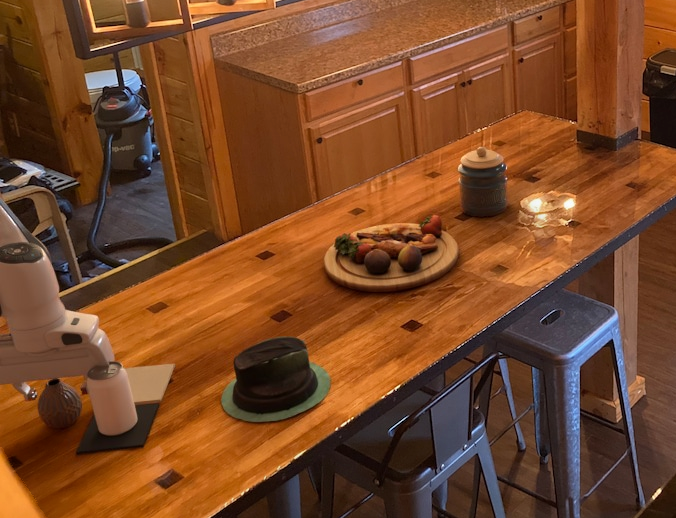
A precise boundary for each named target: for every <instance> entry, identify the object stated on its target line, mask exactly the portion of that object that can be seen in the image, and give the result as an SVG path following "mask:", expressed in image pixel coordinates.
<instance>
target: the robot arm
mask: <svg viewBox="0 0 676 518" xmlns="http://www.w3.org/2000/svg"><path fill="white" fill-rule="evenodd" d="M0 318H4V319H5V320H6V322H7V327H8V330H9V333H4V334H0V386H3V385H11V384H12V386H13V388H14V389H15V390H16V391H18V392H19V393H20V394H21V395H23V397H24V401H25V402H32V401H36V399H37V398H38V391H37V388H36V387H31V386H29V385H28V382H38V381H46V380H48V381H49V380H52V379H57V378H58V379H65V378H74V377H83V379H84V380H87V378H88V376H87V373H88V371H89V370H90V369H91V368H92V367H94V366H95V365H98V367H99V366H108V365H109V364H110V363H109V361H115V353H114V350H113V346H112V344H111V341H110V339H109V337H108V335H107V333H106V332H105V331H104V330H102V328H100V327H99V326H100V318H99V316H98V315H96V314H91V313H84V312H79V311H72V310H69V309H66V307H65V305H64V303H63V302H62V300H61V298H60V285H59V281H58V279H57V275H56V272H55V269H54V267H53V265H52V257H51V253H50V251H49V250H48V249H47V247H46V245H45V244H44V243H43V242H41V240H39V239H38V237H36V236H35V235H34V234H32V232H30V231H29V230H28V229H27V228H26V227H25V225H24V224H23V223H22V222H21V221H20V219H19V218H18V217H17V216H16V214H15V213H14V212H13V211H12V209H11V208H10V206H8V204H7V203H6V202H5V201H4V199H2V197H1V196H0ZM79 389H80V391H81V395H89V391H88V387H87V381H82V383H81V386H80V387H79Z"/></svg>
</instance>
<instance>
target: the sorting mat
mask: <svg viewBox="0 0 676 518" xmlns="http://www.w3.org/2000/svg"><path fill="white" fill-rule="evenodd" d="M175 367H176V364H175V363H167V364H166V363H165V364H155V365H145V366H135V367H123V368H124V369H125V370H126V372H127V375H128V379H129V383H130V388H131V392H132V396H133V400H134V405H135V409H136V413H137V423H136V424H135V426H134V427H133V428H132V429H131V430H129V431H127V432H125V433H123V434H120V435H115V436H107V435H104V434H102V433H101V432H100V431H99V429H98V426H97V422H96V418H95V415H94V414H93V416H92V418H91V420H90V422H89V424H88V427H87V428H86V430H85V432H84V434H83V436H82V437H81V438H82V439H81V440H80V442H79V445H78V447H77V449H76V451H75V453H76V455H84V454H95V453H103V452H112V451H123V450H130V449H132V450H133V449H141V448H144V447H145V445H146V442H147V439H148V437H149V434H150V432H151V429H152V426H153V424H154V421H155V419H156V416H157V413H158V411H159V408H160V406H161V404H162V401H163V398H164V396H165V393H166V390H167V388H168V385H169V383H170V380H171V377H172V376H173V373H174V370H175Z"/></svg>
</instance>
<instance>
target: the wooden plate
mask: <svg viewBox="0 0 676 518" xmlns="http://www.w3.org/2000/svg"><path fill="white" fill-rule="evenodd" d="M423 220H424V221H423V222H422V221H420V222H419V223H411V222H397V223H395V222H394V223H386V224H379V225H373V226H369V227H365V228H362V229H359V230H356V231H353V232H351V233H348V234H347V233H346V232H345V233H341V234H339V235H338V236H336V238H335V239H334V243H333V244H331V246H330V247H329V248H328V249H327V251H326V252H325V255H324V257H323V262H322V264H323V269H324V271H325V273H326V274H327V276H328V277H329V278H330V279H331V280H332V281H334V282H335V283H337V284H338V285H340V286H343V287H346V288H349V289H351V290H357V291H362V292H373V293H377V292H378V293H383V292H385V293H387V292H388V293H389V292H397V291H404V290H409V289H412V288H416V287H420V286H422V285H426V284H428V283H430V282H433V281H435V280H437V279H439V278H441V277H443V276H444V275H445V274H446V273H448V272H449V271H450V270H451V269H452V268H453V267H454V266H455V264H456V263H457V261H458V259H459V255H460V249H459V245H458V243H457V241H456V239H454V237H452V235H450V234H449V233H448V232H446V231H444V230H443V221H442V219H441V218H440V216H439V215H437V214H432V215H431V216H429V215H428V216H427V217H425V218H423Z"/></svg>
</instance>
